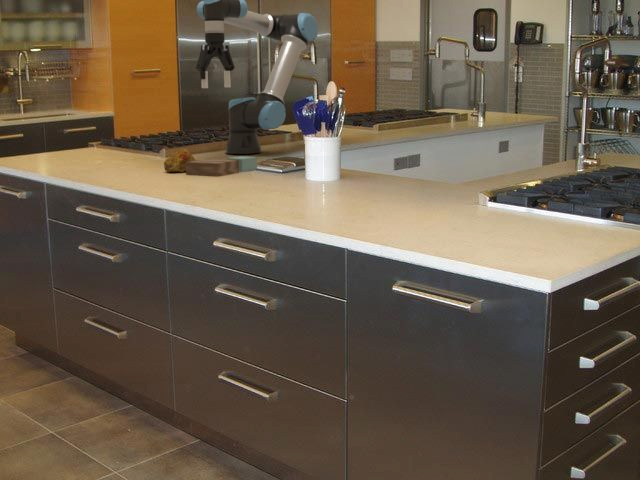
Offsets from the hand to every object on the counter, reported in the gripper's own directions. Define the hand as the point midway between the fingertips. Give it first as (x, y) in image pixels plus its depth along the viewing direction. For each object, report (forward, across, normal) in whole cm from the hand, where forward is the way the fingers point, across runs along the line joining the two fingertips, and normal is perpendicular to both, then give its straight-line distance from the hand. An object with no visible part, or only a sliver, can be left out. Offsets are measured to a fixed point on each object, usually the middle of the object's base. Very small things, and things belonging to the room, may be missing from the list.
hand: (216, 87), depth 350 cm
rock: (+31, +20, +4) cm, 37 cm away
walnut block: (+31, +22, +16) cm, 41 cm away
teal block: (+31, +8, +18) cm, 37 cm away
